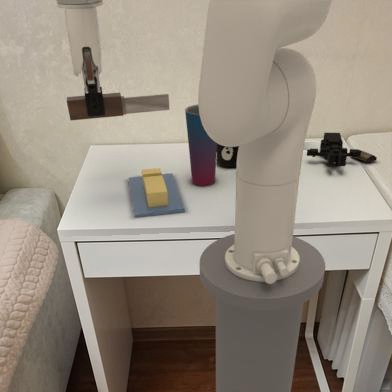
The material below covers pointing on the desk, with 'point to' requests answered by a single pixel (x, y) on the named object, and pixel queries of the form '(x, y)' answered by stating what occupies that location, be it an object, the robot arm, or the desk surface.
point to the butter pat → (151, 173)
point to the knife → (118, 105)
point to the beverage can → (227, 156)
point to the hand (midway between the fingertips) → (96, 112)
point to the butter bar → (155, 191)
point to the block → (366, 156)
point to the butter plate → (141, 201)
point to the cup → (200, 149)
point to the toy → (333, 150)
